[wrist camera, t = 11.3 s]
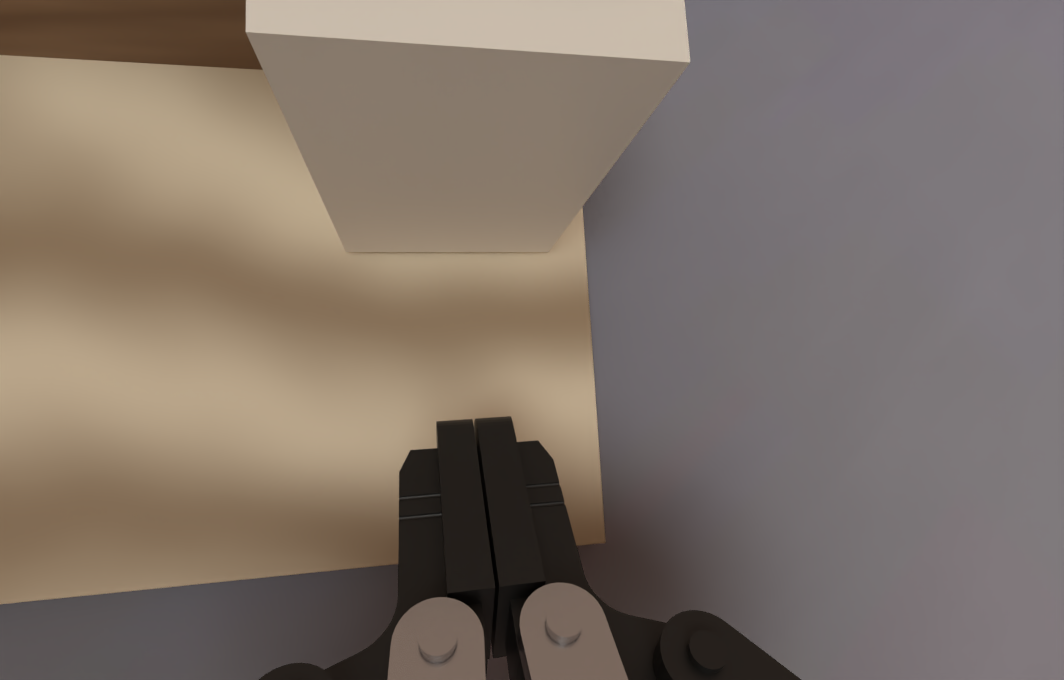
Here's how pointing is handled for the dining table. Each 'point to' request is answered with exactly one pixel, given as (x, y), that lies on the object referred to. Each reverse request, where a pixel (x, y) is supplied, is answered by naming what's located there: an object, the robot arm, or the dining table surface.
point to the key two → (464, 109)
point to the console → (231, 323)
